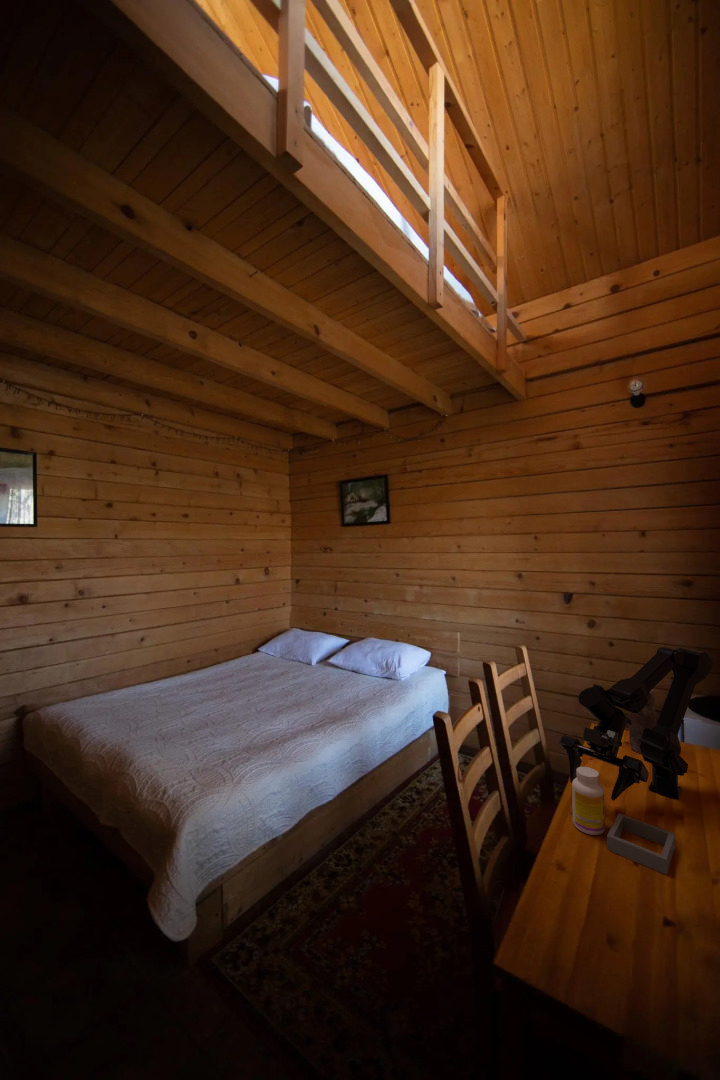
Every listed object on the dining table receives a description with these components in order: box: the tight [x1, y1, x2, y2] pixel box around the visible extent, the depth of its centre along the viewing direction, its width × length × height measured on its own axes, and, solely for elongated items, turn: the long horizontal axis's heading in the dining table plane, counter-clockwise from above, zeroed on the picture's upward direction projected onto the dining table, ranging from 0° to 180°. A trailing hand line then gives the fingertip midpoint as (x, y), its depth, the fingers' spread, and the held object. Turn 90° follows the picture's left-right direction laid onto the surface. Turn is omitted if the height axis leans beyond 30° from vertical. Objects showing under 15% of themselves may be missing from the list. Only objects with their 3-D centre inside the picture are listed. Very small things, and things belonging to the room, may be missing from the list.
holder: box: [606, 812, 676, 876], centre depth 93 cm, size 11×11×3 cm
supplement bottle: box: [571, 766, 606, 836], centre depth 101 cm, size 7×7×13 cm
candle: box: [628, 688, 657, 755], centre depth 137 cm, size 8×7×20 cm
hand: (591, 791), depth 102 cm, fingers open, 9 cm apart
